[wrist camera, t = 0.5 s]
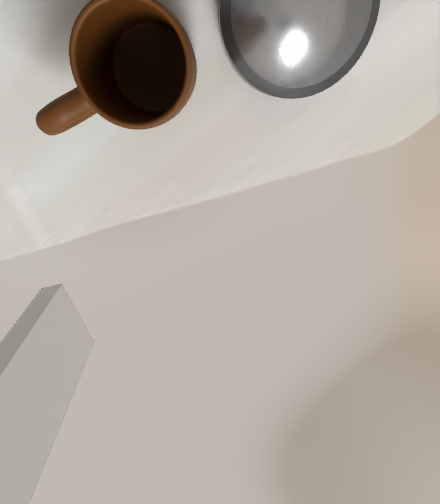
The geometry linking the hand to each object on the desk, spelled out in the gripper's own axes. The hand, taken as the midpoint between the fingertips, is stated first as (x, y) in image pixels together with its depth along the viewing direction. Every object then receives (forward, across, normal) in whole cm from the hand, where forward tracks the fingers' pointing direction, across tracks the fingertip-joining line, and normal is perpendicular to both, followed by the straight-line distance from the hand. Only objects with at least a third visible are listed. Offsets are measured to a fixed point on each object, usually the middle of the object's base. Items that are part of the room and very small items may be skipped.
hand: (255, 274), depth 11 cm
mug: (+23, -6, +7) cm, 25 cm away
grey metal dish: (+23, +8, +9) cm, 26 cm away
